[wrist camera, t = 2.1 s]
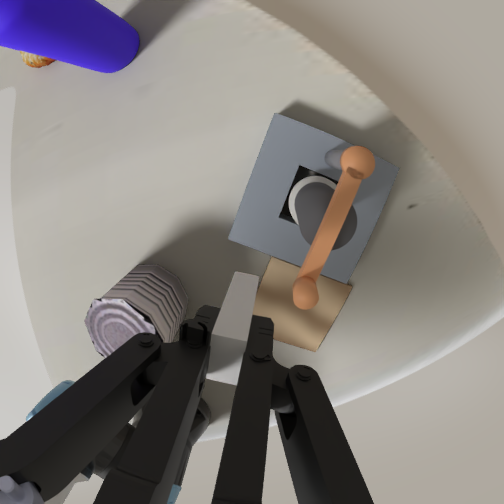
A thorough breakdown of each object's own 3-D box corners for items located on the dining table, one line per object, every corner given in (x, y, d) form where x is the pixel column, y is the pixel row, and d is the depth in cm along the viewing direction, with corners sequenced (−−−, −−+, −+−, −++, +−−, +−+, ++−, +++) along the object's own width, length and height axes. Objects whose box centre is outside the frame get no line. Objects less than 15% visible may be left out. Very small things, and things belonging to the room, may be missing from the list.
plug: (325, 229, 38) (345, 267, 25) (280, 211, 37) (280, 242, 25) (343, 185, 35) (375, 203, 23) (298, 165, 35) (308, 173, 23)
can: (171, 340, 46) (144, 389, 35) (113, 302, 45) (75, 343, 33) (202, 290, 42) (177, 338, 31) (137, 248, 41) (93, 282, 30)
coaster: (314, 349, 44) (315, 352, 43) (242, 325, 43) (241, 328, 43) (351, 285, 40) (352, 287, 39) (272, 255, 39) (271, 257, 39)
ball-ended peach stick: (312, 295, 26) (315, 314, 23) (285, 285, 26) (285, 303, 23) (375, 154, 21) (388, 155, 18) (346, 140, 21) (356, 139, 18)
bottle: (151, 29, 30) (-2, -68, 2) (127, 79, 33) (-62, 35, 5) (108, 23, 30) (-41, -42, 1) (86, 70, 32) (-83, 42, 4)
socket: (342, 274, 39) (365, 326, 27) (231, 232, 39) (209, 271, 27) (391, 166, 34) (439, 176, 22) (275, 115, 33) (272, 96, 21)
